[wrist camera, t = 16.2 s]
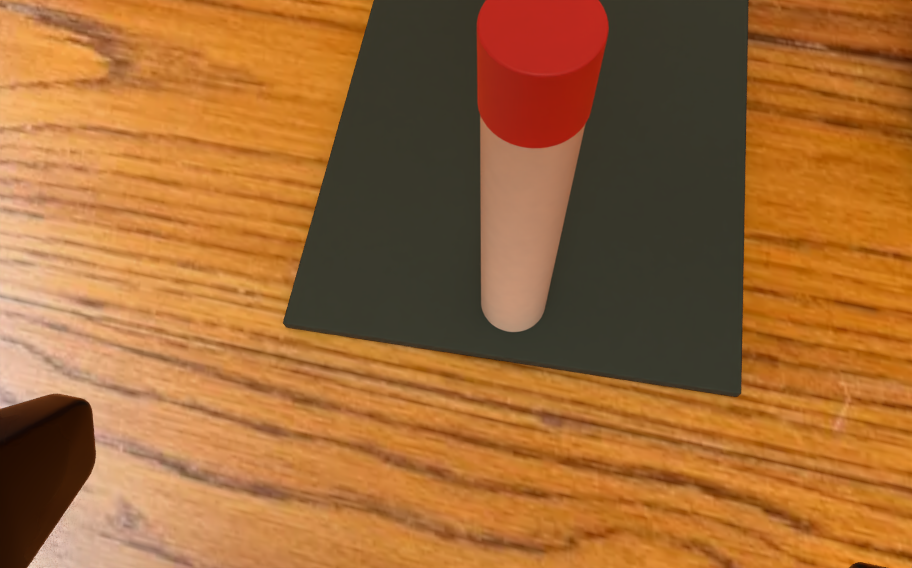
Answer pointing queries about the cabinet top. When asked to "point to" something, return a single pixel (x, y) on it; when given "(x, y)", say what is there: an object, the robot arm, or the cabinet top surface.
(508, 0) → the marker
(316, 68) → the cabinet top surface
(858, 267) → the cabinet top surface
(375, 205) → the mat
